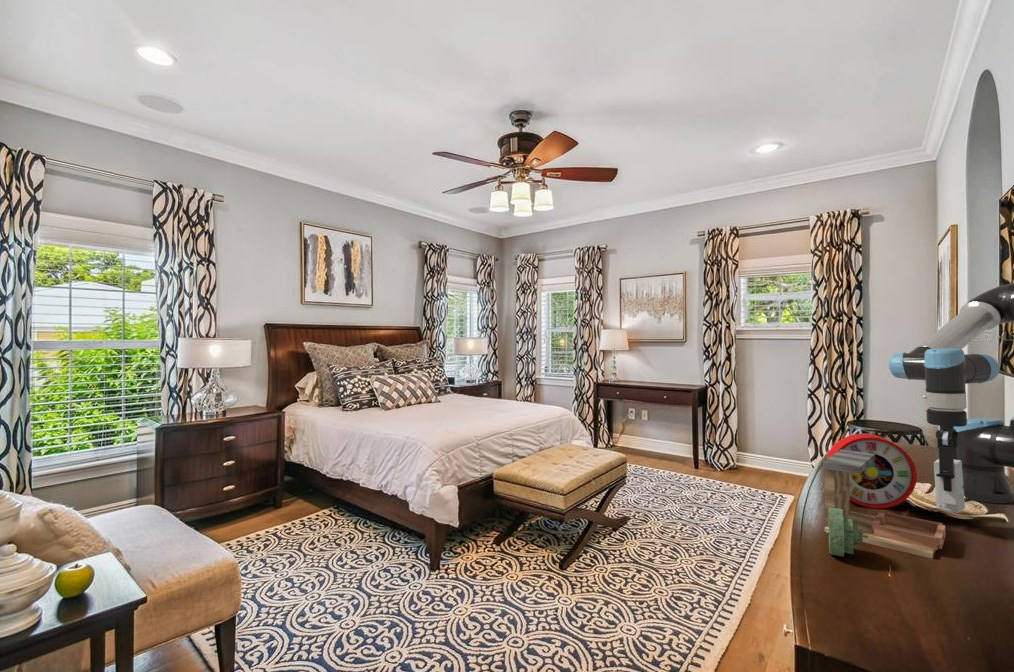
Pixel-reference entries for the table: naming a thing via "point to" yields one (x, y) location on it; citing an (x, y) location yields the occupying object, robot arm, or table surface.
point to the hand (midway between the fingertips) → (949, 499)
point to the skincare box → (958, 486)
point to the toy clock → (879, 471)
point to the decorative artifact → (842, 533)
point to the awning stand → (885, 526)
